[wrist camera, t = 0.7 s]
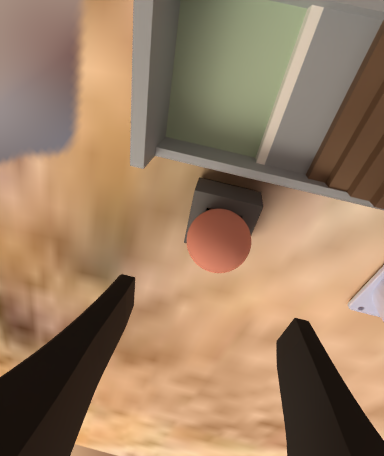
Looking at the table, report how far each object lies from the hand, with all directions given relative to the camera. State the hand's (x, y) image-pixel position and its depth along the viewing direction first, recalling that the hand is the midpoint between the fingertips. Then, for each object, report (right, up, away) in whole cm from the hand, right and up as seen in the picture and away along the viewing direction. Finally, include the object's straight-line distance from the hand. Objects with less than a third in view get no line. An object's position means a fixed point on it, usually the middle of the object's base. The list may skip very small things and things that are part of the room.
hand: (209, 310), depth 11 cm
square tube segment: (+1, +5, +7) cm, 9 cm away
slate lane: (+5, +11, +2) cm, 12 cm away
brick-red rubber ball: (+1, +3, +4) cm, 5 cm away
